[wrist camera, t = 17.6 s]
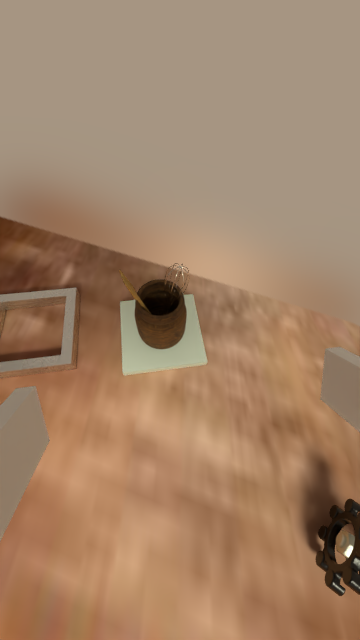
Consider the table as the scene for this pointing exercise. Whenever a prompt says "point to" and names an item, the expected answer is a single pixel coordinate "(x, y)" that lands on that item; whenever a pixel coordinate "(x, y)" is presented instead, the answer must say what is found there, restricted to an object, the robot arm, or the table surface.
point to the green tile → (150, 359)
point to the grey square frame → (69, 331)
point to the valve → (341, 548)
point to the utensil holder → (159, 311)
